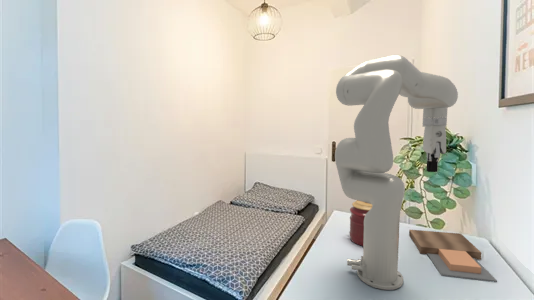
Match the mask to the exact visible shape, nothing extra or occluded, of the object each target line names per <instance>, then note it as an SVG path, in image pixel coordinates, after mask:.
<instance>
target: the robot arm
mask: <svg viewBox="0 0 534 300" xmlns="http://www.w3.org/2000/svg"><path fill="white" fill-rule="evenodd" d="M335 94H336V95H335V96H336V98H337V100H338V101H339V103H341V104H342V105H345V106H351V107H352V106H362V105H363V106H362V108H361V109H360V110H359V112H358V113H357V115H356V118H355V119H354V122H353V123H354V124H353V131H354V137H346V138H344V139H341V140H340V141H339V142H338V144H337V146H336V149H335V151H334V161H335V166H336V169H337V174H338V177H339V181H340V185H341V188H342V189H341V190H342V191H343V194H344V195H345V196H346V197H347V198H349V199H351V200H354V201H357V200H358V201H362V202H366V203H369V204H372V208H371V209H370V210H369V211H368V212H367V213H366V215H365V217H364V241H363V246H362V248H363V249H362V250H363V251H362V255H361V256H360V258H358V259H352V258H347V259H346V266H350V267H351V270H354V271H355V270H357V271H356V274H357V276H358V278H359V279H360V281H362V282H363V283H365V284H366V285H368V286H370V287H372V288H375V289H379V290H387V291H392V290H397V289H399V288H401V287H402V286H403V285H404V277H403V274H402V273H401V272H400V271H399V245H400V243H399V242H400V241H399V240H400V221H401V217H400V216H401V210H402V206H403V205H402V204H403V200H404V197H405V192H406V191H405V190H406V187H405V183H404V181H403V180H402V179H401V178H400V177H398V176H396V175H394V174H391V173H387V172H389V171H390V170H391V169H392V167H393V165H394V154H393V147H392V141H391V134H390V127H389V126H390V125H389V121H390V115H391V112H392V111H393V108H394V106H395V104H396V102H397V99H398V98H399V96H401V97H404V98H407V103H408V105H409V106H410V107H411V108H412V109H417V110H423V111H422V127H424V131H423V140H422V141H423V142H422V148H423V149H422V150H423V151H424V152H425V153H426V170H425V171H426V172H428V173H437V172H438V170H439V169H438V168H439V167H438V166H439V158H441V154H442V155H445V154H446V152H447V130H446V127H447V125H448V124H447V123H448V108H451V107H453V106H454V105H455V104H456V103H457V101H458V98H459V92H458V89H457V87H456V85H455V83H453V82H452V81H451V79H449V78H448V77H445V76H443V75H437V74H433V73H428V72H423V71H420V70H419V68H417V67H416V66H415V65H414V64H413V63H412V62H410V60H408V58H407V57H405V56H402V55H400V54H393V55H392V54H391V55H388V56H387V55H386V56H383V57H378V58H377V57H376V58H372V59H368V60H366V61H364V62H362V63H359V64H358V65H357V66H356V67H354V68H353V69H351V70H350V71H348V72H347V73H346V74H345V75H343V76H342V77H341V78H340V79H339V80H338V82H337V84H336V87H335Z"/></svg>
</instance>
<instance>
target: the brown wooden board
mask: <svg viewBox="0 0 534 300" xmlns="http://www.w3.org/2000/svg"><path fill="white" fill-rule="evenodd" d="M408 236H409V237H410V240H411V241H412V242H413V244H414V246H415V247H416V249H417V251H418V252H419V253H420V254H421V255H427V253H429V254H438V249H447V250H457V251H466V252H467V253H468V254H469V255H470V256H471V257H472V258H475V259H476V260H477V261H478V260H480V261H481V260H482V251H481V250H479V249H478V248H477V247H476V246H475V245H474V244H473V243H472V242H471V241H470V240H468V239H467V238H466V237H465V236H464V235H463V234H462V233H460V232H459V233H457V232H444V231H433V230H421V229H409V233H408Z"/></svg>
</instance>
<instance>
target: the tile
mask: <svg viewBox="0 0 534 300" xmlns="http://www.w3.org/2000/svg"><path fill="white" fill-rule="evenodd" d="M438 255H439V256H440V257H441V259H442V260H443V261H444V263H445V264H446V265H447V267H448V268H449V269H450V270H452V271H461V272H470V273H478V274H481V267H480V266H479V265H478V263H477V262H476V261H475V260H474V259H473V258H472V257H471V256H470V255H469V254H468V253H467V252H466V251H457V250H447V249H438Z"/></svg>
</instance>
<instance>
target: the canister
mask: <svg viewBox="0 0 534 300" xmlns="http://www.w3.org/2000/svg"><path fill="white" fill-rule="evenodd" d="M351 205H352V207H350V209H349V212H350V217H349V221H350V222H349V239H350V240H351V242H353V243H354V244H356V245H359V246H362V247H363V241H364V217H365V215H366V213H367V212H368V211H369V210H370V209H371V208H372V204H369V203H366V202H362V201H358V200H354V201H353V202H352V204H351Z"/></svg>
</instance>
